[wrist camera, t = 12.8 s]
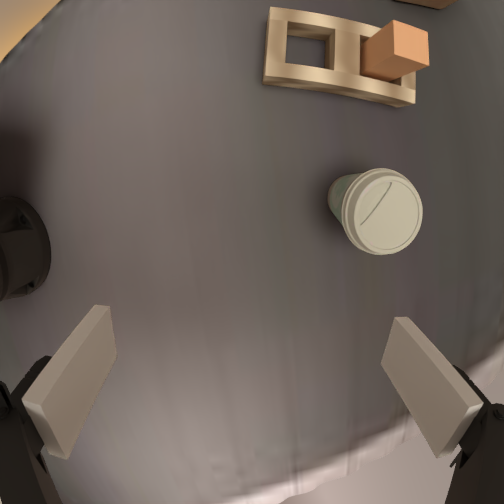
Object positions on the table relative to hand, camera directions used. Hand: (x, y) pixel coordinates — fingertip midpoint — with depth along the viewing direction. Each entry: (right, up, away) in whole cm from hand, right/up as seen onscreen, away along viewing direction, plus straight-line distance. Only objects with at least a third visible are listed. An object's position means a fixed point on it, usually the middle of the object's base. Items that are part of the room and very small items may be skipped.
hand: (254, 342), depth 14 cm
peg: (+15, +27, +20) cm, 37 cm away
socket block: (+10, +28, +20) cm, 36 cm away
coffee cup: (+12, +11, +25) cm, 30 cm away
